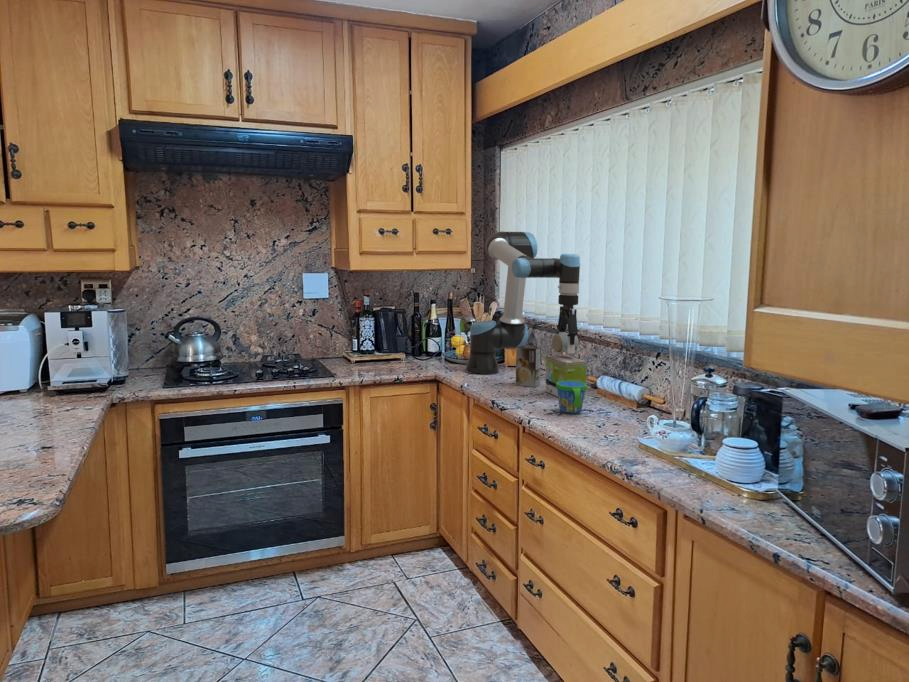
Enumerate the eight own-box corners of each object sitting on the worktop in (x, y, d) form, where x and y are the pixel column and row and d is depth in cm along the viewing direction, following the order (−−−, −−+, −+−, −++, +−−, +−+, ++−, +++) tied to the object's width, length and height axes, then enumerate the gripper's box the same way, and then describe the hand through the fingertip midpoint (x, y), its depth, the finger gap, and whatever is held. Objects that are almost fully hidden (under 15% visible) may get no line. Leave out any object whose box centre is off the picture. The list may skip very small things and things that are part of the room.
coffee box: (540, 385, 279) (542, 347, 277) (535, 387, 274) (536, 349, 272) (520, 382, 284) (521, 345, 282) (514, 385, 278) (515, 347, 276)
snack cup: (590, 417, 225) (591, 388, 224) (559, 417, 225) (560, 387, 224) (580, 406, 241) (582, 379, 240) (551, 406, 241) (552, 378, 239)
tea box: (544, 392, 265) (545, 355, 263) (566, 390, 269) (567, 354, 267) (563, 400, 251) (564, 361, 250) (586, 398, 255) (587, 360, 253)
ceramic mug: (550, 351, 261) (551, 331, 260) (567, 350, 264) (568, 330, 263) (565, 355, 251) (566, 335, 250) (583, 354, 255) (584, 334, 254)
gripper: (550, 292, 266) (548, 346, 269) (568, 296, 243) (565, 355, 246) (569, 292, 267) (566, 346, 270) (587, 296, 244) (585, 355, 247)
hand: (566, 350), depth 258 cm, fingers closed on ceramic mug, 11 cm apart
